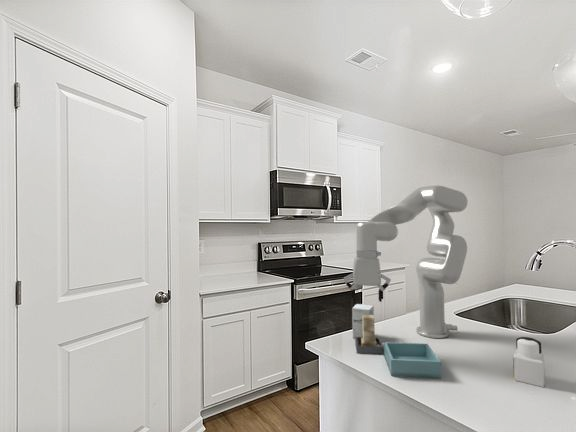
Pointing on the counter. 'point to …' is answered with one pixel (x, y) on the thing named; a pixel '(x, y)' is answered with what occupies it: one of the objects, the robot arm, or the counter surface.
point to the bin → (412, 360)
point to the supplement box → (360, 318)
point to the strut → (368, 331)
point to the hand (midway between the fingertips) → (366, 300)
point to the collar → (369, 347)
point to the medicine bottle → (529, 362)
